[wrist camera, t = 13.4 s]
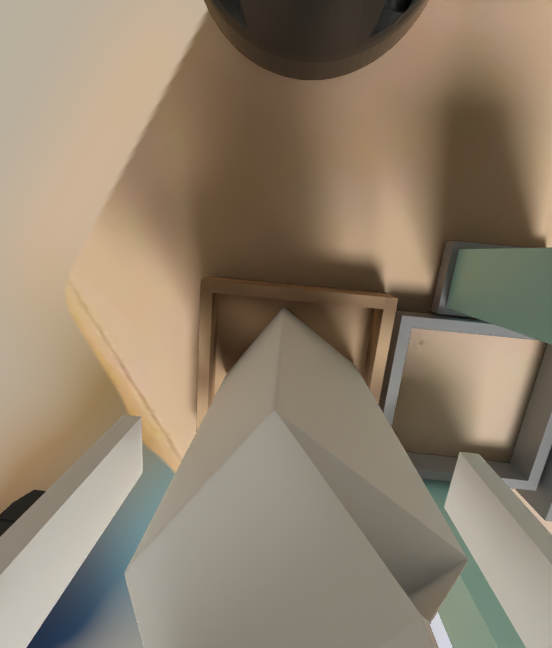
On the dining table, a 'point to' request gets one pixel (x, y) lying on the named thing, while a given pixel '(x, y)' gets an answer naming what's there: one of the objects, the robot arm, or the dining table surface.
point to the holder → (539, 421)
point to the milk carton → (294, 516)
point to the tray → (307, 305)
